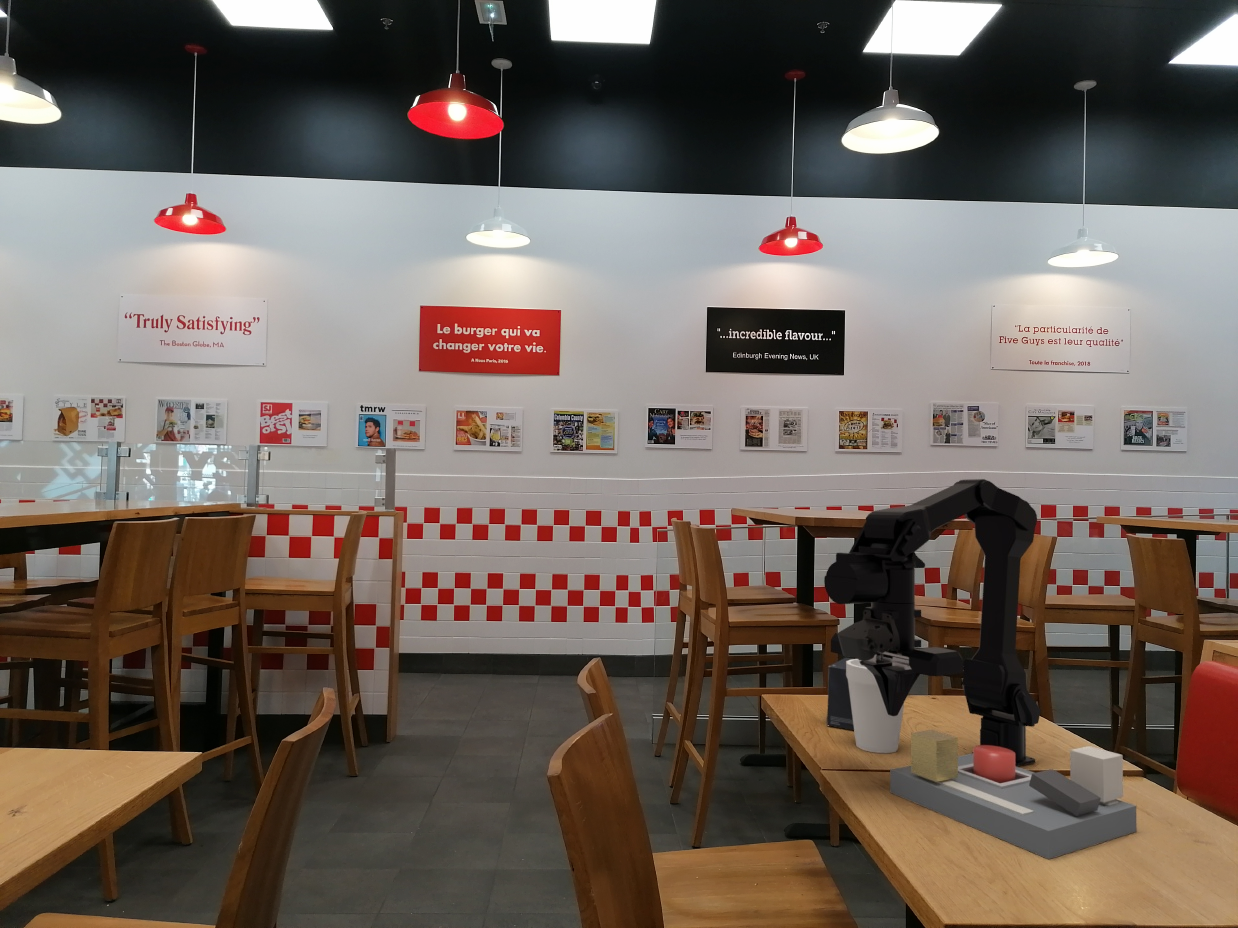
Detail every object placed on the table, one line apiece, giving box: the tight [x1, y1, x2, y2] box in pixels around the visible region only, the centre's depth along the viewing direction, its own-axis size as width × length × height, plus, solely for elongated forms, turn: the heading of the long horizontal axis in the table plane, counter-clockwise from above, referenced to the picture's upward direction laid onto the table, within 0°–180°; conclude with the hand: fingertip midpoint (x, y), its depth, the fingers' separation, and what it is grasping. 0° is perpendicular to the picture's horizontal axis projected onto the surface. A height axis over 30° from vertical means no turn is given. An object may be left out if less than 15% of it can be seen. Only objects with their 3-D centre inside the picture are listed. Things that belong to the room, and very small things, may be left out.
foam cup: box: [846, 658, 905, 754], centre depth 125 cm, size 10×9×13 cm
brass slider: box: [910, 729, 959, 782], centre depth 101 cm, size 4×4×5 cm
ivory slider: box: [1069, 745, 1124, 802], centre depth 96 cm, size 4×4×5 cm
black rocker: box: [1029, 768, 1101, 816], centre depth 92 cm, size 4×6×2 cm, turn 29°
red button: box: [972, 744, 1015, 783], centre depth 103 cm, size 5×5×6 cm
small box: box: [826, 657, 854, 731], centre depth 139 cm, size 11×6×10 cm, turn 148°
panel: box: [889, 753, 1138, 860], centre depth 99 cm, size 17×22×3 cm
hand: (892, 715), depth 108 cm, fingers closed
